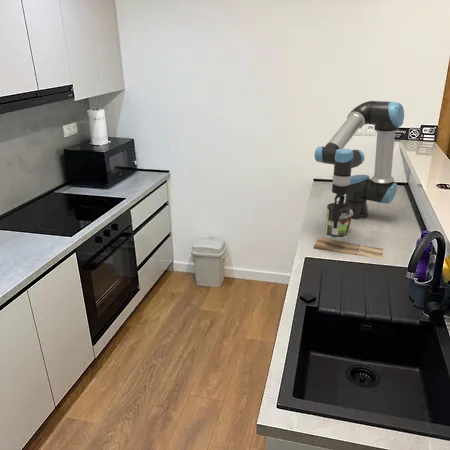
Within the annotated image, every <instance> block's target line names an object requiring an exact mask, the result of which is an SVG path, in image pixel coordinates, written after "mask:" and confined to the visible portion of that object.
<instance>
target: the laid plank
mask: <svg viewBox="0 0 450 450" xmlns="http://www.w3.org/2000/svg"><path fill="white" fill-rule="evenodd" d="M383 254H384V248H381V247H375V246H367V245H361V244H360V249H359V252H358V256H359V257H366V258H371V259H381V260H382V259H383Z"/></svg>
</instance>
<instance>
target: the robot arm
mask: <svg viewBox="0 0 450 450" xmlns="http://www.w3.org/2000/svg"><path fill="white" fill-rule="evenodd" d="M404 119H405V110H404V107H403V105H402V104H401V103H400V102H397V101H396V102H395V101H381V100H380V101H379V100H376V101H375V100H369V101H368V100H367V101H364V102H363V103H362V102H361V103H360V104H359V105H357V106H356V107H353V108H352V110H351V111H350V112H349V113H348V114H347V117H346V120H345V121H344V123H342V125H341V126H340V127H339V128H338V130H337V131H336V133H334V135H333V136H332V137H331V138H330V140H329V141H328V142H327V143H326V144H325V146H323V145H322V146H317V147H316V149H315V151H314V160H315V161H316V162H317V163H322V164H328V165H333V175H332V176H331V178H332V186H331V192H332V194H336V195H335V196H334V202H333V203H334V212H333V219H331V221H333V225H332V234H334V235H338V228H339V215H340V209H341V207H342V205H343V204H346V205H349V206H350V209H351V210H352V211H353V215H352V218H355V219H354V220H356V219H357V220H362V219H361V218H364V219H366V217H367V218H368V217H369V209H368V204H367V201H370V202H375V203H378V204H379V203H380V204H387V205H388V204H390V203H392V202H393V200H394V199H395V196H396V194H397V192H398V184H397V183H396V182H394V181H395V178H394V177H393V176H392V171H393V159H394V149H395V148H394V146H395V138H396V137H395V136H396V132H397V131H399V129H400V128H401V127H402V126H403V124H404ZM365 125H373V127H374V131H375V132H376V143H375V144H376V145H375V146H376V147H375V158H374V159H375V161H374V174H373V176H371V178H370V175H367V174H354V175H352V169H354V168H356V167H357V168H358V167H359V166H360V165H362V164H363V163H364V161H365V155H364V152H363V151H362V150H360V149H353V150H352V149H349V148H345V147H346V145H348V143H349V142H350V141H351V139H352V137H354V135H355V134H356V133H357V132H358V130H359V129H361V128H363V127H364V126H365ZM335 218H336V219H335ZM352 218H351V219H352Z"/></svg>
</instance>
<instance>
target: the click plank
mask: <svg viewBox="0 0 450 450" xmlns="http://www.w3.org/2000/svg"><path fill="white" fill-rule="evenodd" d="M360 248H361V244H356V243H350V242H346V241H341V240H337V239H336V240H335V239H332V238H325V237H321V236H318V238H317V239H316V241H315V242H314V245H313V249H315V250H320V251H327V252H334V253H341V254H348V255H354V256H359V252H360Z"/></svg>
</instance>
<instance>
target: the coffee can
mask: <svg viewBox="0 0 450 450" xmlns="http://www.w3.org/2000/svg"><path fill="white" fill-rule="evenodd" d="M334 203H335V202H331V203H329V204H327V205H326V207H327V209H326V217H325V218H326V221H325V232H324V235H325V236H326V237H328V238H329V239H334V240H335V239H336V240H338V239H340V240H341V239H346V238H347V237H348V233H349V230H348V222H349V213H350V206H349V205H346V204H343V205H342V207H341V209H340V215H339V228H338V235H334V234H332V225H333V221H331V219H333V212H334ZM335 219H336V218H335Z"/></svg>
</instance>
